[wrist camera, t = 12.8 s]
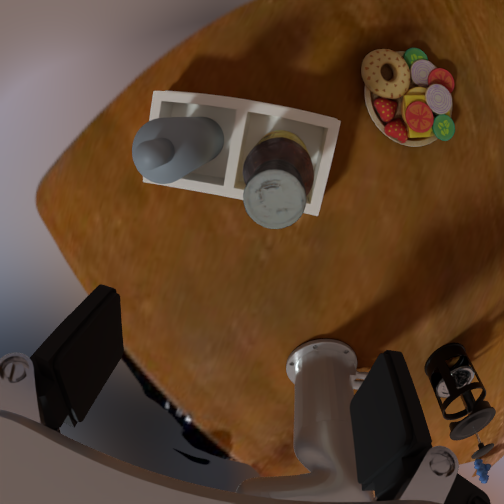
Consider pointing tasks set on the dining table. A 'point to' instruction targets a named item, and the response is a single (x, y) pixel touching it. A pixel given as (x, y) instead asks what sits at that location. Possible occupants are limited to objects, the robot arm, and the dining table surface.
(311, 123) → the condiment caddy
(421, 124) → the toy food set
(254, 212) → the sauce bottle
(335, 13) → the dining table surface
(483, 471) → the grapes
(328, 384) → the robot arm
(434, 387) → the french press
